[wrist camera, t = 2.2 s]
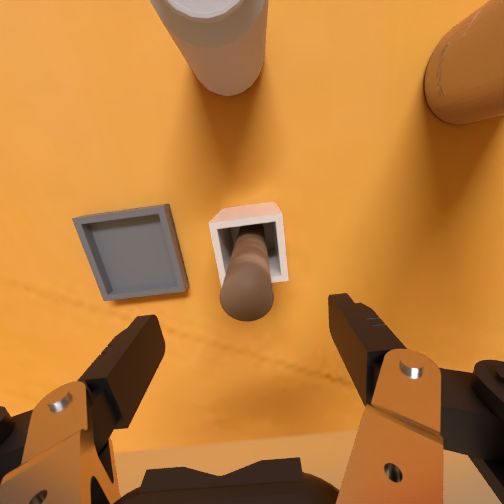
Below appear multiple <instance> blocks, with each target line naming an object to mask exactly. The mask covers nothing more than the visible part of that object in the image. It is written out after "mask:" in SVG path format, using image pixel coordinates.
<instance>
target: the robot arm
mask: <svg viewBox="0 0 504 504" xmlns="http://www.w3.org/2000/svg"><path fill="white" fill-rule="evenodd" d="M425 95H426V100H427V103H428V105H429V107H430V109H431V110H432V112H433V113H434V114H435V115H436V116H437V117H438V118H440V119H441V120H443V121H445V122H448V123H451V124H467V123H472V122H476V121H481V120H485V119H489V118H493V117H497V116H502V115H504V0H490V1H488V2H487V3H486V4H484V5H483V6H482V7H480V8H479V9H478V10H476V11H475V12H474V13H472V14H471V15H470V16H468V17H467V18H465V19H464V20H463V21H461V22H460V23H459V24H457V25H456V26H455V27H454V28H452V29H451V30H450V31H449V32H448V33H447V34H446V35H445V36H444V37H443V39H442V40H441V41H440V43H439V44H438V45H437V47H436V48H435V50H434V52H433V54H432V56H431V58H430V61H429V63H428V66H427V69H426V75H425ZM328 305H329V327H330V333H331V336H332V339H333V341H334V343H335V345H336V347H337V349H338V351H339V353H340V355H341V358H342V360H343V362H344V364H345V366H346V368H347V370H348V372H349V374H350V376H351V378H352V380H353V382H354V385H355V387H356V389H357V391H358V393H359V395H360V397H361V399H362V401H363V403H364V405H365V410H364V413H363V416H362V419H361V423H360V426H359V429H358V432H357V436H356V439H355V442H354V446H353V449H352V452H351V456H350V459H349V462H348V466H347V469H346V472H345V475H344V478H343V481H342V485H341V488H340V491H339V490H338V489H337V488H335V487H334V486H333V485H331V484H330V483H328V482H326V481H324V480H322V479H321V478H318V477H316V476H314V475H311V474H307V473H304V472H302V469H301V462H300V458H299V457H298V458H286V459H274V460H261V461H259V462H256V463H254V464H251V465H249V466H246V467H244V468H241V469H239V470H236V471H234V472H231V473H229V474H226V475H223V476H216V475H212V474H208V473H204V472H200V471H197V470H193V469H190V468H186V467H175V468H162V469H150V470H146V473H145V476H144V478H143V481H142V484H141V487H139V488H136V489H134V490H133V491H131V492H129V493H127V494H126V495H124V496H123V497H121V496H120V492H119V486H118V479H117V473H116V466H115V459H114V452H113V445H112V441H111V439H110V435H111V433H112V432H113V430H114V429H123V428H128V427H129V425H130V423H131V421H132V419H133V417H134V415H135V413H136V411H137V409H138V407H139V404H140V402H141V400H142V398H143V396H144V394H145V392H146V390H147V388H148V386H149V384H150V382H151V380H152V378H153V376H154V374H155V372H156V370H157V368H158V366H159V364H160V362H161V360H162V358H163V356H164V353H165V341H164V338H163V335H162V331H161V328H160V325H159V321H158V318H157V317H156V315H146V316H138V317H136V318H135V319H134V321H133V322H132V323H131V324H130V326H129V327H128V328H127V329H125V330H124V331H122V332H121V333H119V334H118V335H117V336H115V337H114V339H113V340H112V341H111V342H110V343H109V344H108V347H106V348H105V349H104V350H103V351H102V353H101V355H99V356H98V357H97V359H96V360H95V361H94V362H93V363H92V364H91V366H90V367H89V368H88V369H87V370H86V371H85V373H84V374H83V375H82V376H81V377H80V378H79V380H78V381H76V382H71V383H68V384H65V385H63V386H60V387H59V388H57V389H55V390H53V391H52V392H50V393H49V394H48V395H46V396H45V397H44V398H43V399H42V400H41V401H40V402H39V403H38V404H37V405H36V407H35V408H34V409H33V410H31V411H28V412H25V413H22V414H19V415H16V416H13V417H11V416H10V415H9V413H8V412H7V410H6V408H5V407H1V406H0V504H443V449H445V450H449V451H454V452H457V453H461V454H465V455H468V456H469V458H470V459H471V460H472V462H473V463H474V465H475V466H476V467H477V469H478V470H479V472H480V473H481V474H482V476H483V477H484V479H485V480H486V481H487V483H488V485H489V486H490V487H491V488H492V490H493V491H494V493H495V494H496V496H497V497H498V499H499V500H500V501H501V503H502V504H504V362H502V361H497V360H483V361H479V362H478V363H476V365H475V367H474V371H473V373H469V372H462V371H455V370H448V369H442V368H438V366H437V365H436V364H435V363H434V362H433V361H432V360H431V359H430V358H428V357H427V356H425V355H423V354H421V353H419V352H416V351H413V350H409V349H407V348H406V347H405V346H404V345H403V344H402V343H401V342H400V340H399V339H398V338H397V337H396V336H395V335H394V334H393V332H392V331H391V330H390V329H389V328H388V327H387V326H386V325H385V324H384V322H383V321H382V320H381V319H380V318H379V317H378V315H377V314H376V313H375V312H374V311H373V310H372V309H371V308H369V307H368V306H366V305H364V304H362V303H354V302H353V300H352V299H351V298H350V296H349V295H348V294H347V293H343V294H334V295H329V297H328Z"/></svg>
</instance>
